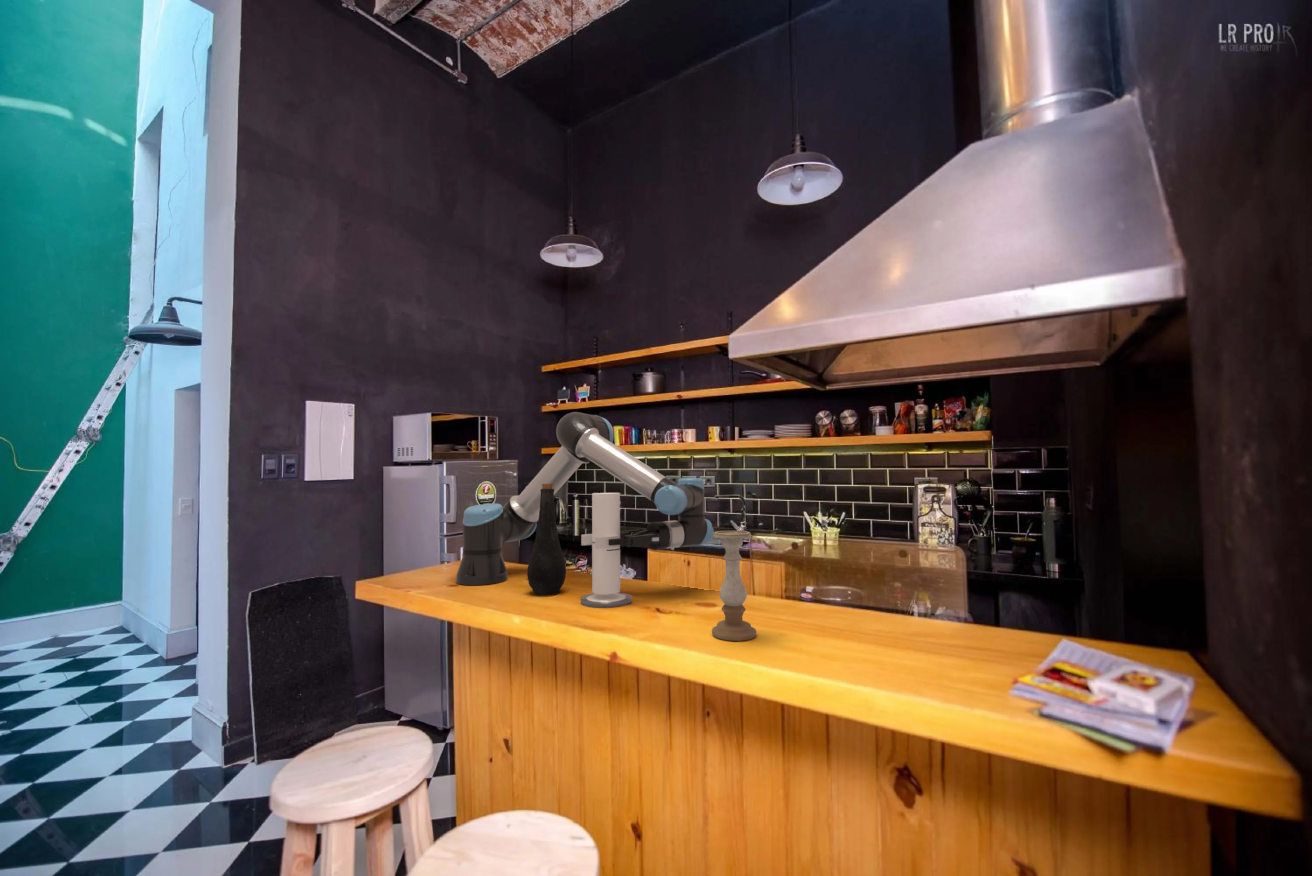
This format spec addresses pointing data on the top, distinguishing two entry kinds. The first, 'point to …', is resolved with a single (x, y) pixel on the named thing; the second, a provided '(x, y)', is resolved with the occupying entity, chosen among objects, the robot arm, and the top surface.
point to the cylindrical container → (605, 558)
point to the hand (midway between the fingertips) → (588, 541)
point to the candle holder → (733, 591)
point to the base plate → (606, 600)
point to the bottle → (546, 550)
